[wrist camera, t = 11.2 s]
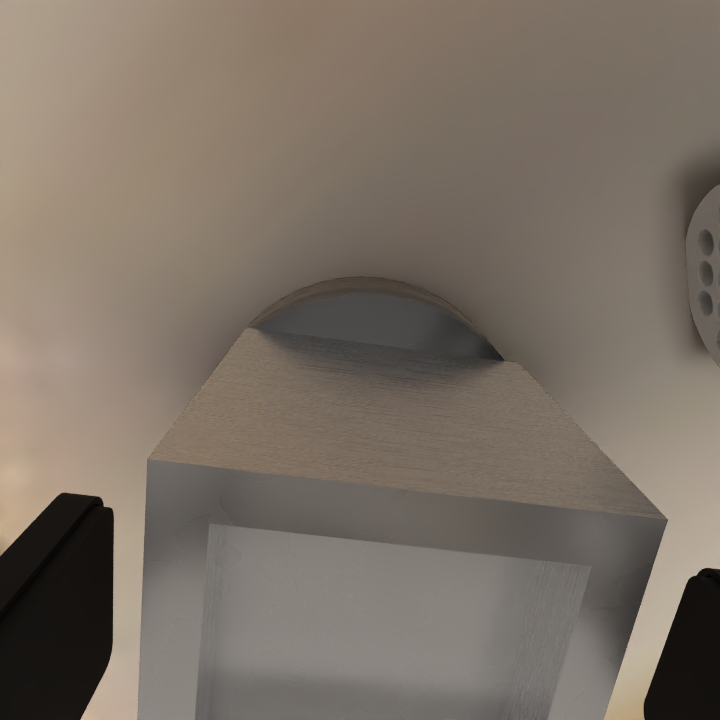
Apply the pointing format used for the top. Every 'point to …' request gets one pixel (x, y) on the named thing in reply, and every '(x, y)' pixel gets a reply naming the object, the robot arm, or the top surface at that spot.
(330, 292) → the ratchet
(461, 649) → the socket
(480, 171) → the top surface
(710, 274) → the flashlight
